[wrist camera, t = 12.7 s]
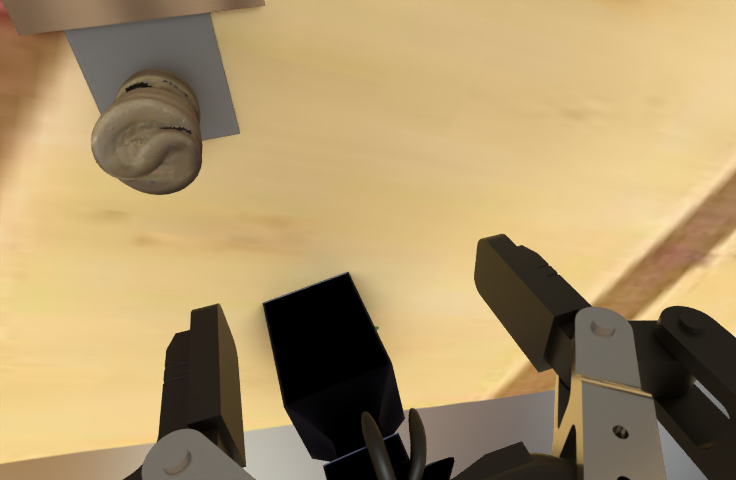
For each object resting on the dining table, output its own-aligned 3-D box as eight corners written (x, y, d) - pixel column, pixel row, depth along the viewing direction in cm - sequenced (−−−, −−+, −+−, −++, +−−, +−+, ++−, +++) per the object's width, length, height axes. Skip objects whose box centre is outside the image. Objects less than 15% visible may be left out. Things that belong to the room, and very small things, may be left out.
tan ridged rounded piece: (106, 88, 33) (63, 171, 22) (147, 31, 32) (124, 86, 21) (174, 132, 37) (168, 224, 25) (213, 82, 36) (226, 154, 24)
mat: (207, 6, 33) (207, 7, 33) (239, 131, 39) (239, 133, 39) (63, 24, 31) (61, 25, 30) (120, 153, 37) (119, 156, 36)
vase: (369, 255, 52) (565, 602, 25) (383, 318, 59) (548, 641, 32) (253, 296, 50) (332, 726, 23) (282, 357, 57) (369, 739, 30)
